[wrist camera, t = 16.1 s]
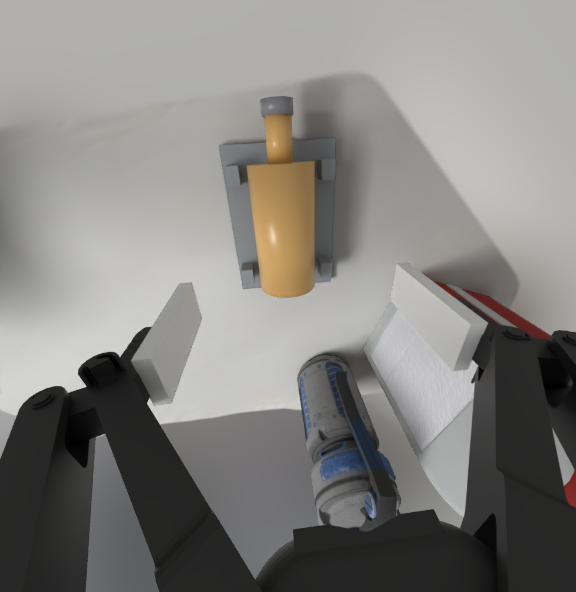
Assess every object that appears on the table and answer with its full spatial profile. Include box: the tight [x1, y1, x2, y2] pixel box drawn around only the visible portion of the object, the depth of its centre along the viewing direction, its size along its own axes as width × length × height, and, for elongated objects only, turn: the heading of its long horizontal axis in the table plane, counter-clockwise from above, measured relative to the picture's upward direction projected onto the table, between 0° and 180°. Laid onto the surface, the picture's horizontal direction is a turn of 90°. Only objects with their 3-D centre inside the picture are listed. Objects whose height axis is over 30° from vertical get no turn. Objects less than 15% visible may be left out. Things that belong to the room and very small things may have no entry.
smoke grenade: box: [297, 355, 401, 532], centre depth 36 cm, size 10×13×25 cm
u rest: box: [219, 138, 336, 289], centre depth 31 cm, size 18×13×4 cm
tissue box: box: [363, 281, 576, 518], centre depth 32 cm, size 16×18×27 cm
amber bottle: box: [246, 96, 315, 298], centre depth 28 cm, size 19×7×7 cm, turn 3°
